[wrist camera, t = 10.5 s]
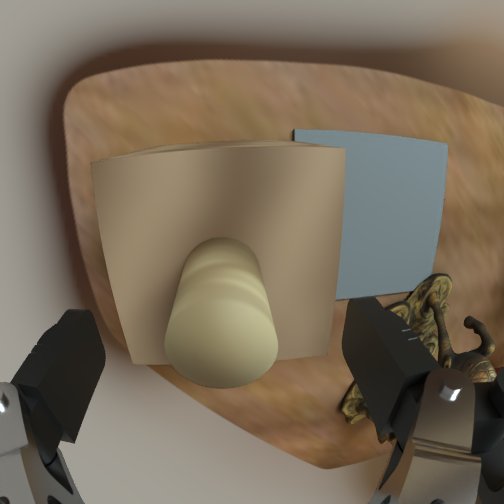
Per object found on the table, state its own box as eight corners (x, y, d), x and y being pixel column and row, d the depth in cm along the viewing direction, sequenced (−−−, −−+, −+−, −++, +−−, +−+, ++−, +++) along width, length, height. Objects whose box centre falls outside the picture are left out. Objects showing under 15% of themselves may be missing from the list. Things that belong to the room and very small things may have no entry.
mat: (445, 143, 25) (448, 143, 24) (426, 287, 31) (427, 288, 30) (293, 129, 24) (294, 129, 23) (291, 301, 30) (291, 303, 29)
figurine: (473, 284, 31) (576, 381, 13) (379, 418, 40) (426, 521, 21) (410, 258, 28) (549, 392, 10) (309, 418, 37) (348, 548, 18)
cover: (284, 140, 24) (415, 162, 7) (284, 255, 28) (358, 428, 10) (159, 146, 23) (17, 185, 6) (171, 261, 27) (110, 439, 10)
